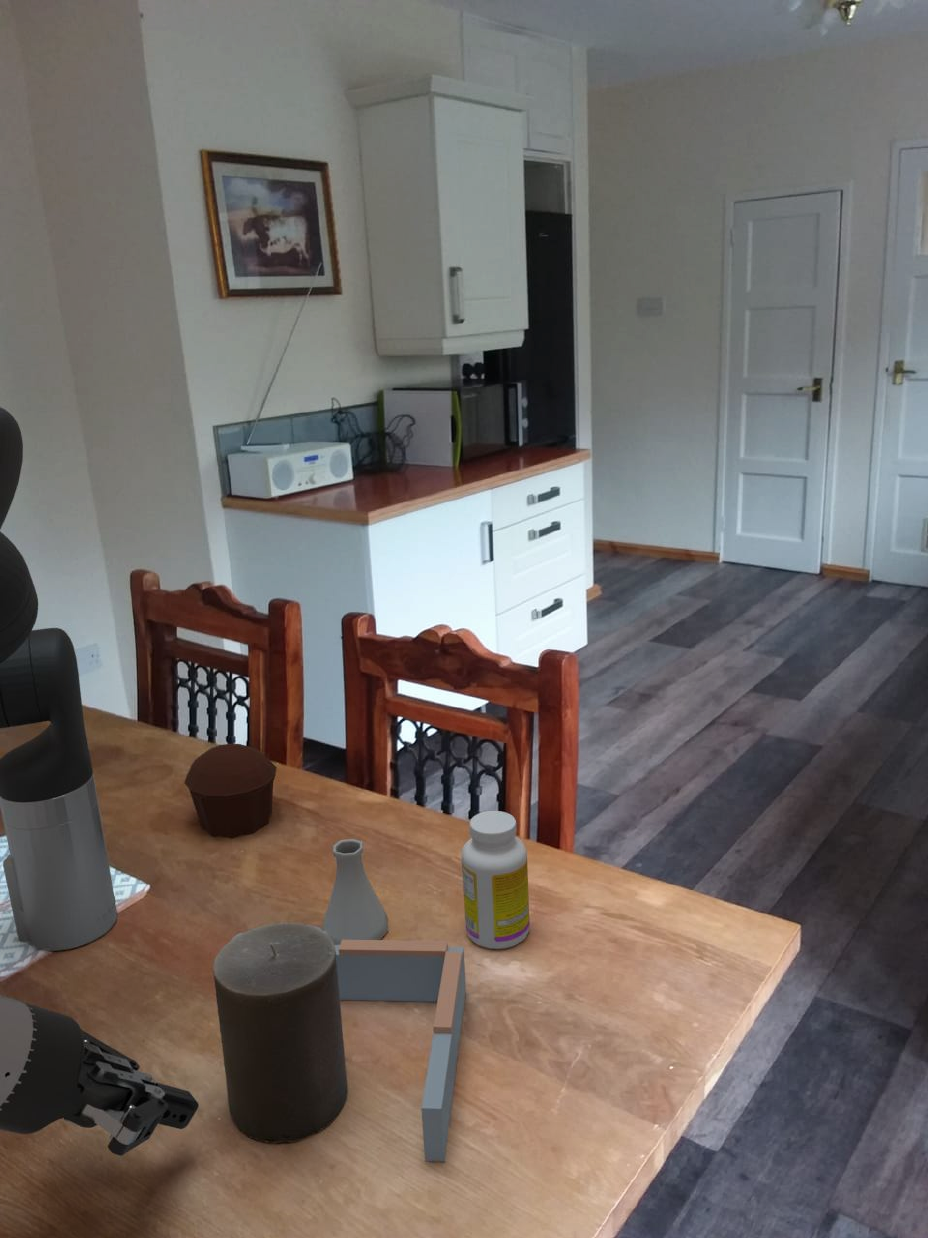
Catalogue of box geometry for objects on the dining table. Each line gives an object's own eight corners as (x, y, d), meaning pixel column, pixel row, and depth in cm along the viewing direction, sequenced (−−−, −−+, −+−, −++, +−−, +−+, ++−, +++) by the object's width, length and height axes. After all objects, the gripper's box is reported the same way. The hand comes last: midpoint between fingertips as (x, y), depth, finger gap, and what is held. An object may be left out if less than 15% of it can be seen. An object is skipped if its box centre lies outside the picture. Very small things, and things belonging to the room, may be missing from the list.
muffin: (300, 813, 128) (292, 743, 125) (239, 852, 120) (229, 778, 117) (234, 793, 135) (226, 725, 132) (172, 829, 126) (161, 757, 123)
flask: (378, 955, 99) (371, 868, 96) (310, 948, 101) (301, 862, 98) (397, 913, 106) (391, 830, 103) (333, 908, 108) (325, 826, 105)
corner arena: (195, 1152, 76) (186, 1094, 75) (265, 988, 95) (259, 938, 93) (444, 1162, 75) (440, 1102, 73) (465, 992, 93) (463, 941, 92)
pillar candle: (294, 1163, 75) (278, 997, 71) (204, 1114, 80) (183, 956, 76) (371, 1081, 83) (360, 928, 79) (284, 1041, 88) (270, 894, 84)
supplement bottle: (539, 921, 103) (536, 812, 100) (515, 958, 98) (511, 844, 94) (481, 908, 106) (476, 801, 102) (454, 943, 101) (448, 831, 97)
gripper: (58, 1060, 60) (258, 1114, 71) (-5, 960, 70) (179, 1022, 81) (-18, 1177, 59) (199, 1214, 70) (-71, 1058, 68) (126, 1107, 79)
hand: (188, 1111), depth 75 cm, fingers closed
